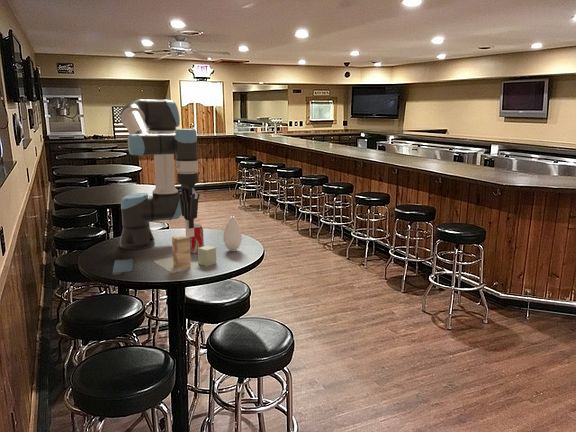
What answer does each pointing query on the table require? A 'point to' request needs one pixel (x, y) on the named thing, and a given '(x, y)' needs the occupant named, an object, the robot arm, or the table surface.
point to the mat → (168, 265)
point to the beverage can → (196, 239)
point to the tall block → (181, 252)
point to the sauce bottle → (232, 234)
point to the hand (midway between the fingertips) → (190, 236)
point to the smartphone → (123, 266)
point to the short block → (207, 255)
